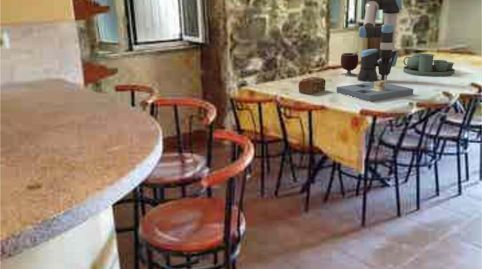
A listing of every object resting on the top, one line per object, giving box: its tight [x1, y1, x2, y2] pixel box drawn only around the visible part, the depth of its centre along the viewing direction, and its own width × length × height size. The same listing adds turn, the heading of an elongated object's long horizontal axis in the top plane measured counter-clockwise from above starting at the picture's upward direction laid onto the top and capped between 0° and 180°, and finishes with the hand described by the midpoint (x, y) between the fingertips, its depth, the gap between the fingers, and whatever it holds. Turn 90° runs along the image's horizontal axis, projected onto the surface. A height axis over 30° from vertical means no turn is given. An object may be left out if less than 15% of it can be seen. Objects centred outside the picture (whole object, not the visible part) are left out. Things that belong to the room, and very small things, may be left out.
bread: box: [298, 76, 327, 95], centre depth 328 cm, size 19×11×10 cm, turn 136°
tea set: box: [402, 51, 456, 77], centre depth 392 cm, size 40×40×16 cm
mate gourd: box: [340, 51, 359, 77], centre depth 385 cm, size 16×14×20 cm
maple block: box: [373, 80, 385, 90], centre depth 314 cm, size 5×5×5 cm
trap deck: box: [336, 81, 414, 102], centre depth 319 cm, size 38×32×4 cm
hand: (383, 84), depth 315 cm, fingers closed
